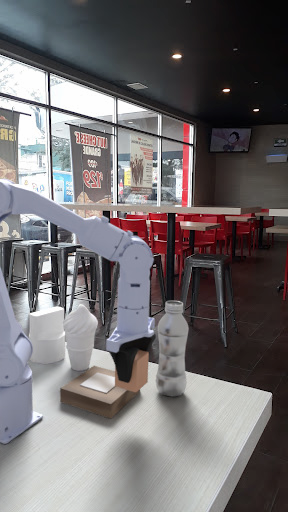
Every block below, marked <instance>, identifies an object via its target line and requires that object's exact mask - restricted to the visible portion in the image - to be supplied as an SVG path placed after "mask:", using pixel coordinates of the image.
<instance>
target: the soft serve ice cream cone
mask: <svg viewBox="0 0 288 512" xmlns="http://www.w3.org/2000/svg"><path fill="white" fill-rule="evenodd" d="M63 324H64V325H63V327H64V331H65V349H67V354H68V359H69V364H70V368H71V369H72V370H73V371H77V372H79V371H80V372H81V371H87V370H88V369H90V363H91V360H92V359H91V358H92V354H93V349H94V348H95V335H96V330H97V328H98V325H99V321H98V318H97V317H96V316H95V315H94V314H93V313H91V312H90V310H89V309H88V308H87V307H86V305H84V304H81V303H80V304H79V305H78V306H77V308H76V309H74V310H72V311H71V312H69V313H68V314H67V315H66V316H64V321H63Z"/></svg>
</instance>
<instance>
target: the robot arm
mask: <svg viewBox="0 0 288 512" xmlns="http://www.w3.org/2000/svg"><path fill="white" fill-rule="evenodd" d="M10 215H34V216H37V217H38V218H41V219H43V220H45V221H47V222H49V223H51V224H54V225H56V226H58V227H59V228H61V229H64V230H66V231H67V232H69V233H72V234H74V235H75V236H76V237H77V240H78V244H79V246H81V247H84V248H86V249H87V250H89V251H92V252H93V253H95V254H97V255H99V256H101V257H102V258H104V259H106V260H108V261H110V262H118V264H119V278H118V280H117V304H116V305H117V308H116V309H117V310H116V312H117V313H116V327H115V328H114V330H113V332H112V333H111V335H110V337H109V338H106V342H105V343H106V344H105V347H106V349H105V350H106V351H107V352H108V353H109V355H110V357H111V359H112V360H113V363H114V367H116V371H117V375H118V379H119V381H122V382H126V383H129V382H130V380H131V376H132V369H133V363H134V359H135V357H136V354H137V352H138V350H142V351H146V352H150V349H151V347H152V345H153V343H154V341H155V340H156V338H157V336H156V333H155V331H154V330H153V329H154V328H155V318H154V317H150V316H149V315H150V293H151V292H150V291H151V289H150V288H151V280H150V275H151V271H150V269H151V268H152V266H153V263H154V261H155V258H154V257H153V251H152V250H151V248H150V246H149V245H148V243H147V242H145V240H143V239H142V238H141V237H140V236H138V235H134V233H133V231H130V230H128V229H127V231H125V230H123V229H121V228H119V227H117V226H116V225H114V224H112V223H110V222H109V221H110V219H109V217H106V216H104V215H102V216H101V217H100V216H97V215H92V216H89V217H87V218H84V217H83V216H81V215H79V214H78V213H76V212H74V211H72V210H71V209H69V208H67V207H65V206H63V205H62V204H60V203H58V202H57V201H55V200H53V199H52V198H49V197H48V196H46V195H45V194H43V193H41V192H39V191H37V190H34V189H32V188H30V187H27V186H25V185H23V184H18V183H16V182H14V181H13V180H10V179H7V178H0V225H1V224H2V221H4V220H5V219H6V218H7V217H9V216H10ZM32 353H33V345H32V342H31V341H30V339H29V336H27V335H26V333H25V332H24V329H23V327H22V325H21V324H20V322H18V320H17V319H16V315H15V312H14V309H13V305H12V301H11V298H10V294H9V292H8V289H7V285H6V281H5V278H4V275H3V270H2V268H1V266H0V443H1V444H8V443H10V442H11V441H13V440H14V439H15V438H16V437H18V436H20V435H21V434H22V433H24V432H26V430H27V429H29V428H30V427H32V426H33V425H35V424H36V423H37V422H39V421H40V420H41V419H43V418H44V415H43V413H39V412H37V411H35V410H34V408H33V406H34V405H33V371H32V369H31V367H30V365H29V360H30V357H31V355H32Z"/></svg>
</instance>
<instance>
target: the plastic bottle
mask: <svg viewBox="0 0 288 512" xmlns="http://www.w3.org/2000/svg"><path fill="white" fill-rule="evenodd" d="M164 312H165V313H164V314H163V316H162V317H161V318H160V320H159V321H158V324H157V334H158V335H157V336H158V344H159V345H158V347H159V357H158V366H157V372H156V374H155V385H156V389H157V390H158V392H159V393H160V394H161V395H164V396H166V397H173V398H174V397H179V396H182V395H183V393H184V392H185V391H186V388H187V383H188V381H187V374H186V362H185V357H186V346H187V341H188V334H189V325H188V322H187V320H186V318H185V317H184V316H183V313H184V302H182V301H180V300H167V301H166V302H165V307H164Z"/></svg>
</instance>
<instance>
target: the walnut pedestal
mask: <svg viewBox="0 0 288 512" xmlns="http://www.w3.org/2000/svg"><path fill="white" fill-rule="evenodd" d="M139 393H141V389H140V390H138V391H137V392H133V391H129V390H126V389H123V388H119V387H116V386H115V370H111V369H107V368H104V367H101V366H96V365H93V366H91V367H89V368H88V369H86V370H84V371H83V372H82V373H80V374H79V375H77V377H74V378H73V379H72V380H70V381H68V382H67V383H66V384H64V385H63V386H61V387H60V389H59V395H60V397H59V398H60V399H59V400H60V402H61V403H62V404H63V403H64V405H65V404H66V405H68V406H71V407H74V408H77V409H80V410H84V411H87V412H90V413H92V414H95V415H98V416H102V417H105V418H108V419H112V418H113V417H115V415H116V414H118V413H119V412H120V411H121V410H122V409H123V408H124V407H125V406H126V405H127V404H128V403H129V402H130V401H132V399H134V398H135V396H137V395H139Z"/></svg>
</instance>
